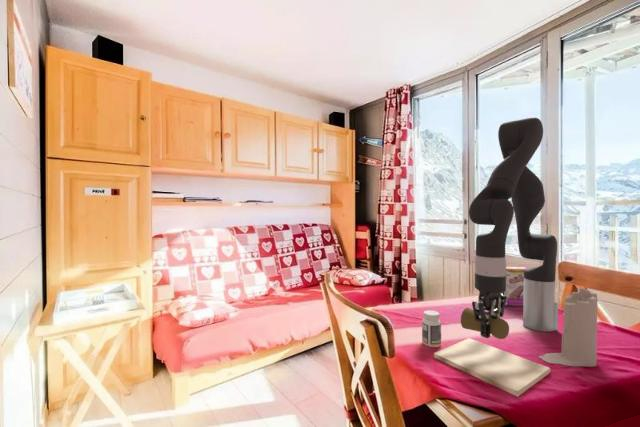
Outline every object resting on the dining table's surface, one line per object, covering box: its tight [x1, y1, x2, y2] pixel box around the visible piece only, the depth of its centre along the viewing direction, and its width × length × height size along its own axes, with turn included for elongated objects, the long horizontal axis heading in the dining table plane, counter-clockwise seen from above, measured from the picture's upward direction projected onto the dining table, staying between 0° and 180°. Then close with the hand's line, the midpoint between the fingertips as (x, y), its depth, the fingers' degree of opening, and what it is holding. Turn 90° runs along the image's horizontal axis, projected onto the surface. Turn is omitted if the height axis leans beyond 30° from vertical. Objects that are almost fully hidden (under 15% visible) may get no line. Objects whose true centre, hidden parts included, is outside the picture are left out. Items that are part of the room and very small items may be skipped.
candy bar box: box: [501, 266, 529, 307], centre depth 134 cm, size 11×5×16 cm, turn 84°
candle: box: [538, 287, 598, 368], centre depth 86 cm, size 7×14×20 cm, turn 88°
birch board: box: [433, 337, 551, 398], centre depth 84 cm, size 22×18×1 cm
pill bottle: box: [421, 310, 442, 348], centre depth 97 cm, size 6×6×10 cm
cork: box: [460, 307, 510, 340], centre depth 85 cm, size 6×6×11 cm
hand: (489, 334), depth 84 cm, fingers closed on cork, 3 cm apart
